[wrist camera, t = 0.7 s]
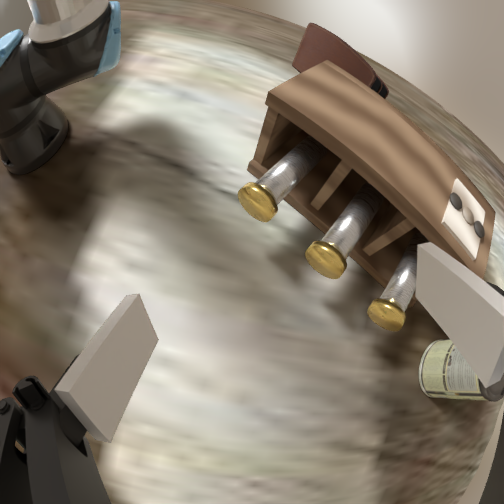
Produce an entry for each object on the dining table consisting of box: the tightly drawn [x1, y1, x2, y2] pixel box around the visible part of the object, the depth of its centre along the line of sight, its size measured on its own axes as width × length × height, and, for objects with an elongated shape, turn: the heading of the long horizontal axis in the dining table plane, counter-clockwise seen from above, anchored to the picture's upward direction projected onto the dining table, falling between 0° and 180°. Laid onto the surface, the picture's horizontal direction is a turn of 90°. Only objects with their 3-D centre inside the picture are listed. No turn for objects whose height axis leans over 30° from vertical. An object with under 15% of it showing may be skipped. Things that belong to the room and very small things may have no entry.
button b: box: [305, 183, 384, 279], centre depth 33 cm, size 13×5×5 cm, turn 140°
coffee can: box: [419, 339, 504, 402], centre depth 31 cm, size 10×10×14 cm
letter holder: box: [292, 23, 389, 99], centre depth 48 cm, size 10×20×14 cm, turn 32°
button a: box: [367, 233, 430, 331], centre depth 32 cm, size 13×5×5 cm, turn 140°
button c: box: [238, 135, 327, 222], centre depth 34 cm, size 13×5×5 cm, turn 140°
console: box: [247, 60, 495, 308], centre depth 36 cm, size 14×33×17 cm, turn 50°
